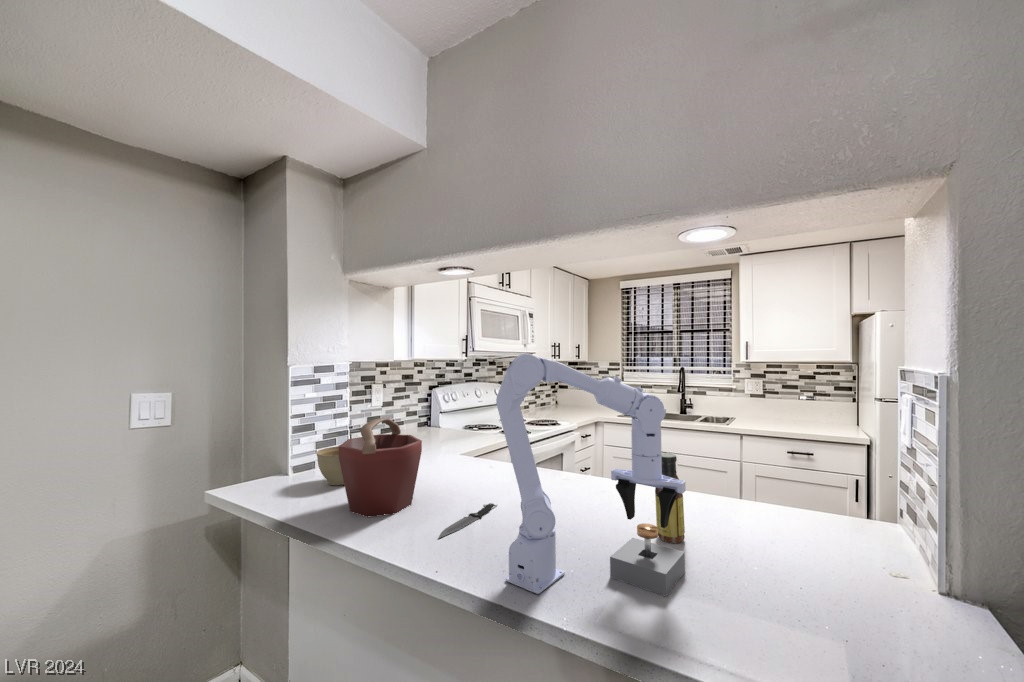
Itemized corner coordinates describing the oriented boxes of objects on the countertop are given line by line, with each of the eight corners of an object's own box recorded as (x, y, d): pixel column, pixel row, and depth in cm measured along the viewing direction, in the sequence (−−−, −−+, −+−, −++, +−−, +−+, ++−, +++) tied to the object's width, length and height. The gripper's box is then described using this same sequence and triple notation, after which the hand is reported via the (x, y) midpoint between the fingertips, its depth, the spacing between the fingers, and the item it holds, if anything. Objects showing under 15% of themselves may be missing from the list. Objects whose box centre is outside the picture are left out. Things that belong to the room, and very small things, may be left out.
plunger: (653, 562, 84) (653, 533, 84) (634, 556, 87) (633, 528, 87) (661, 554, 87) (660, 526, 87) (641, 548, 90) (641, 521, 90)
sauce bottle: (675, 532, 107) (674, 450, 107) (690, 543, 101) (689, 457, 101) (650, 534, 106) (649, 452, 106) (664, 546, 99) (662, 458, 100)
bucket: (384, 527, 111) (384, 428, 112) (316, 516, 119) (316, 424, 119) (434, 496, 134) (433, 415, 135) (374, 489, 142) (374, 411, 142)
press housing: (666, 596, 79) (665, 574, 79) (610, 577, 86) (610, 556, 86) (685, 571, 88) (684, 551, 88) (632, 556, 95) (632, 537, 95)
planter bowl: (375, 481, 150) (375, 449, 150) (329, 492, 138) (329, 458, 139) (353, 472, 161) (353, 442, 161) (308, 482, 149) (308, 450, 150)
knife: (427, 537, 105) (443, 542, 103) (427, 533, 105) (443, 538, 103) (487, 504, 128) (501, 507, 125) (487, 501, 128) (501, 504, 125)
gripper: (690, 454, 86) (691, 524, 86) (621, 445, 95) (621, 508, 95) (678, 462, 80) (679, 536, 80) (606, 451, 90) (607, 518, 89)
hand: (647, 521), depth 87 cm, fingers open, 6 cm apart
